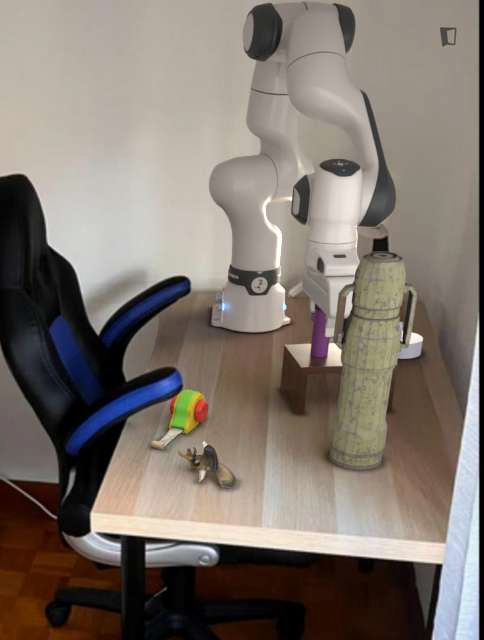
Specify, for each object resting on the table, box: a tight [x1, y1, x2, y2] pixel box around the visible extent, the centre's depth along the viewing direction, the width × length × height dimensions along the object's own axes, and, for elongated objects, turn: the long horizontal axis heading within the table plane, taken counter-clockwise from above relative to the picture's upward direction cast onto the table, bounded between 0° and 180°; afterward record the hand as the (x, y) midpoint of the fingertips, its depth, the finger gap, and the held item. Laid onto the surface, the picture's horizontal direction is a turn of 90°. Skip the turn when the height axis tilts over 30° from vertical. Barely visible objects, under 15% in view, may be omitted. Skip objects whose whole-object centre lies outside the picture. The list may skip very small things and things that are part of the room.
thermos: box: [328, 250, 419, 471], centre depth 159 cm, size 9×12×35 cm
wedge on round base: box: [398, 321, 424, 360], centre depth 213 cm, size 9×7×13 cm
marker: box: [310, 303, 331, 357], centre depth 183 cm, size 4×4×12 cm
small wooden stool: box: [279, 342, 399, 415], centre depth 188 cm, size 13×18×10 cm
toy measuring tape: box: [150, 389, 209, 450], centre depth 178 cm, size 6×20×7 cm, turn 147°
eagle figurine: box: [176, 441, 237, 489], centre depth 161 cm, size 8×7×9 cm
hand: (321, 327), depth 184 cm, fingers open, 8 cm apart
